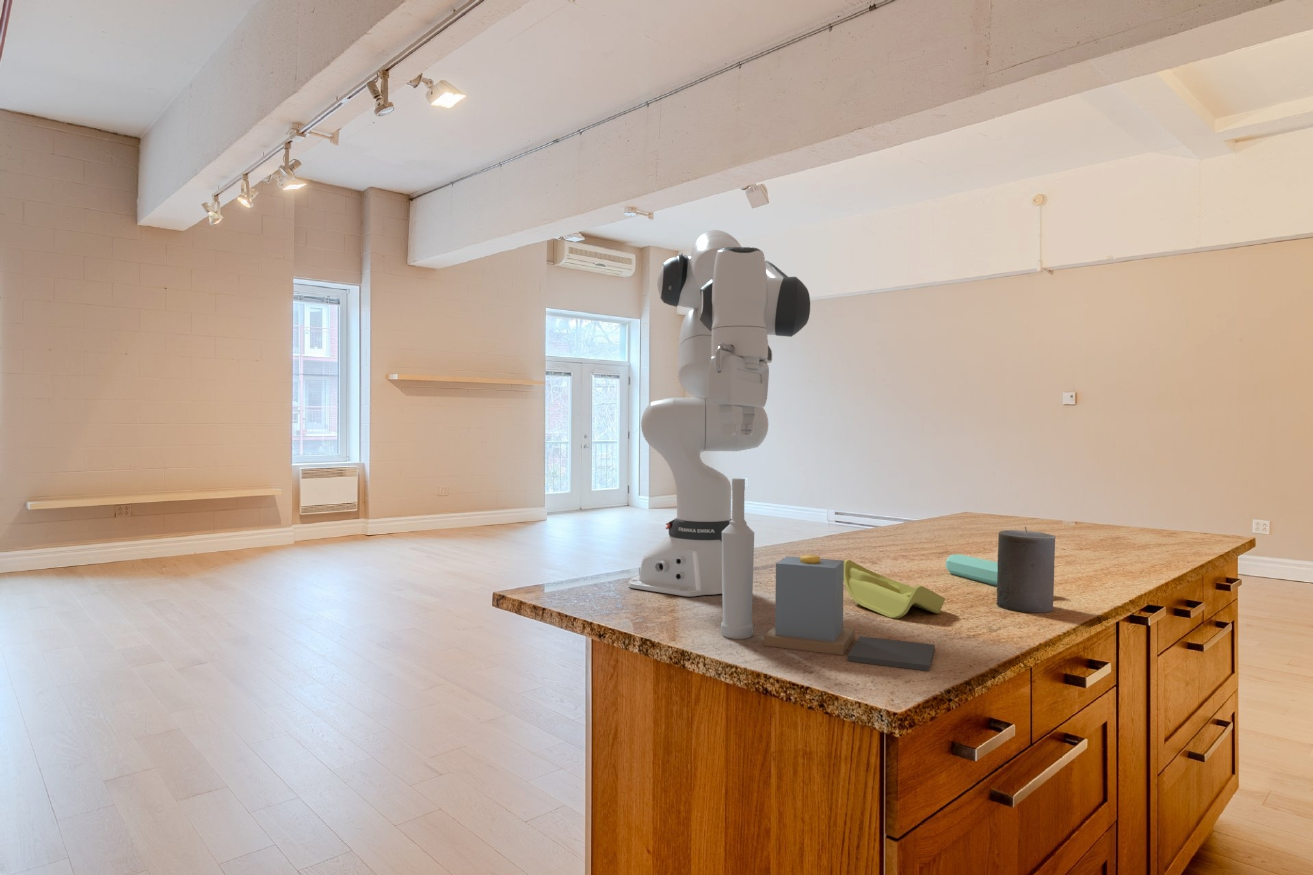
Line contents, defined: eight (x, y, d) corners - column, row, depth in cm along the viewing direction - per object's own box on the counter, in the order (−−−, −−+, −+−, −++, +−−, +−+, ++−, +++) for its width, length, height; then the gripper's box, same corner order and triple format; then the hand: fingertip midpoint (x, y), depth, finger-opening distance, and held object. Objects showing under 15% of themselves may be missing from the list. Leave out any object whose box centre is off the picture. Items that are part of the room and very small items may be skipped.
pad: (847, 660, 111) (847, 655, 111) (859, 641, 121) (859, 636, 121) (928, 671, 107) (928, 665, 107) (934, 649, 117) (934, 644, 117)
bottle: (735, 641, 121) (737, 480, 121) (714, 633, 125) (715, 478, 125) (760, 636, 124) (761, 479, 124) (738, 629, 128) (739, 477, 128)
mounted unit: (763, 645, 119) (764, 558, 119) (780, 629, 128) (781, 548, 128) (843, 655, 114) (844, 564, 114) (854, 638, 123) (855, 554, 123)
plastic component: (951, 601, 140) (915, 581, 135) (935, 639, 139) (898, 621, 134) (874, 573, 157) (840, 555, 153) (859, 607, 156) (825, 590, 152)
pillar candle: (988, 607, 145) (990, 526, 144) (1005, 598, 152) (1008, 521, 152) (1045, 616, 138) (1047, 532, 138) (1060, 606, 146) (1062, 526, 145)
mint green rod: (945, 547, 178) (1029, 564, 155) (964, 555, 180) (1051, 573, 156) (936, 571, 178) (1020, 592, 154) (956, 580, 179) (1042, 602, 156)
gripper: (738, 340, 113) (737, 435, 113) (775, 353, 132) (774, 435, 132) (697, 342, 116) (696, 435, 116) (739, 354, 134) (738, 434, 135)
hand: (738, 435), depth 124 cm, fingers open, 8 cm apart
